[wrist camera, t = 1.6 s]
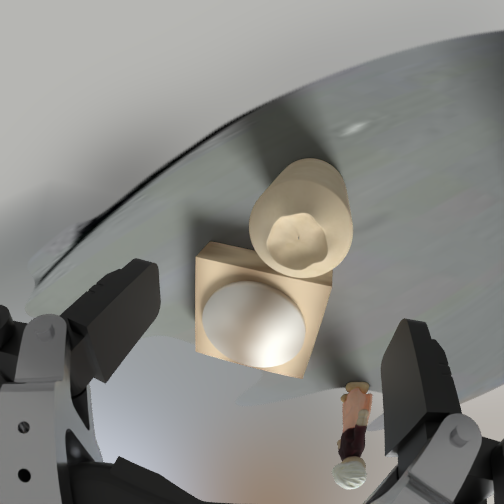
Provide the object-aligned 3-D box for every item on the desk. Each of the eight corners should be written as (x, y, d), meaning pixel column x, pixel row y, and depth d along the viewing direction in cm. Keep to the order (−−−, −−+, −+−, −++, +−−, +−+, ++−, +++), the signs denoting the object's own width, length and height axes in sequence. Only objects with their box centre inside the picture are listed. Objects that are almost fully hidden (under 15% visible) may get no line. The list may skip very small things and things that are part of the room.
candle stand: (332, 267, 25) (331, 292, 22) (306, 356, 30) (301, 385, 27) (210, 241, 27) (191, 261, 24) (206, 332, 32) (192, 356, 29)
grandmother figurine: (366, 408, 32) (362, 498, 21) (336, 408, 33) (325, 498, 22) (377, 368, 29) (379, 472, 18) (343, 368, 30) (334, 472, 19)
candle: (294, 145, 22) (268, 165, 13) (358, 178, 22) (376, 222, 13) (265, 206, 25) (225, 261, 16) (325, 236, 24) (319, 308, 16)
